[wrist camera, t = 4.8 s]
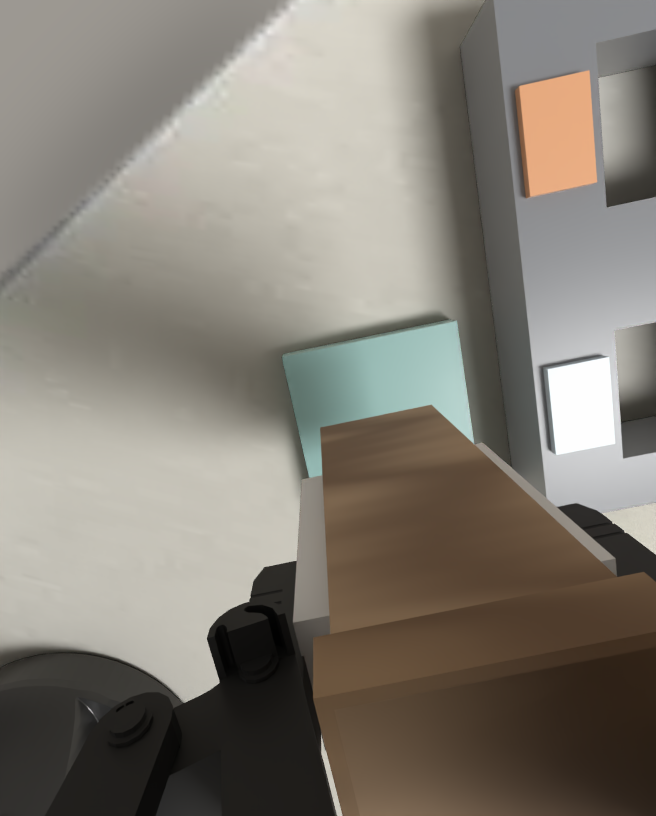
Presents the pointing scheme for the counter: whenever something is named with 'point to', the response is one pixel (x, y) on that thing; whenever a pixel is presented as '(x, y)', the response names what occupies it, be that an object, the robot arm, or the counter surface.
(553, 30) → the port box
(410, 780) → the plug
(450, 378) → the plate
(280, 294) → the counter surface
